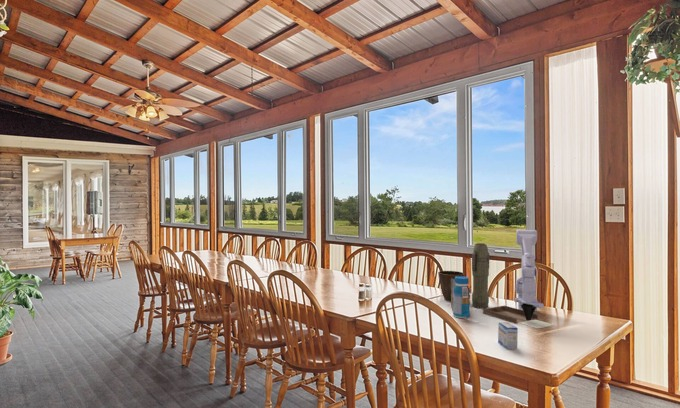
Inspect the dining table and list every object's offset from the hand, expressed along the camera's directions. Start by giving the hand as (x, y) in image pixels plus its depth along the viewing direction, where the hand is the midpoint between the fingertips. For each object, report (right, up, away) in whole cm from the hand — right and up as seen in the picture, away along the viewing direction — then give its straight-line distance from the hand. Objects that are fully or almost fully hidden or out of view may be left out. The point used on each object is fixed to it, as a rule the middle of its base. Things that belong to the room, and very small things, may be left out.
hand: (528, 319), depth 201 cm
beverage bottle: (-29, -2, +12) cm, 31 cm away
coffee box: (-27, -2, +25) cm, 37 cm away
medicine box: (-23, -2, -32) cm, 39 cm away
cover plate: (+2, -2, -4) cm, 5 cm away
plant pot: (-25, -1, +48) cm, 54 cm away
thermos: (-12, -2, +32) cm, 34 cm away
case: (-5, -2, +9) cm, 10 cm away
